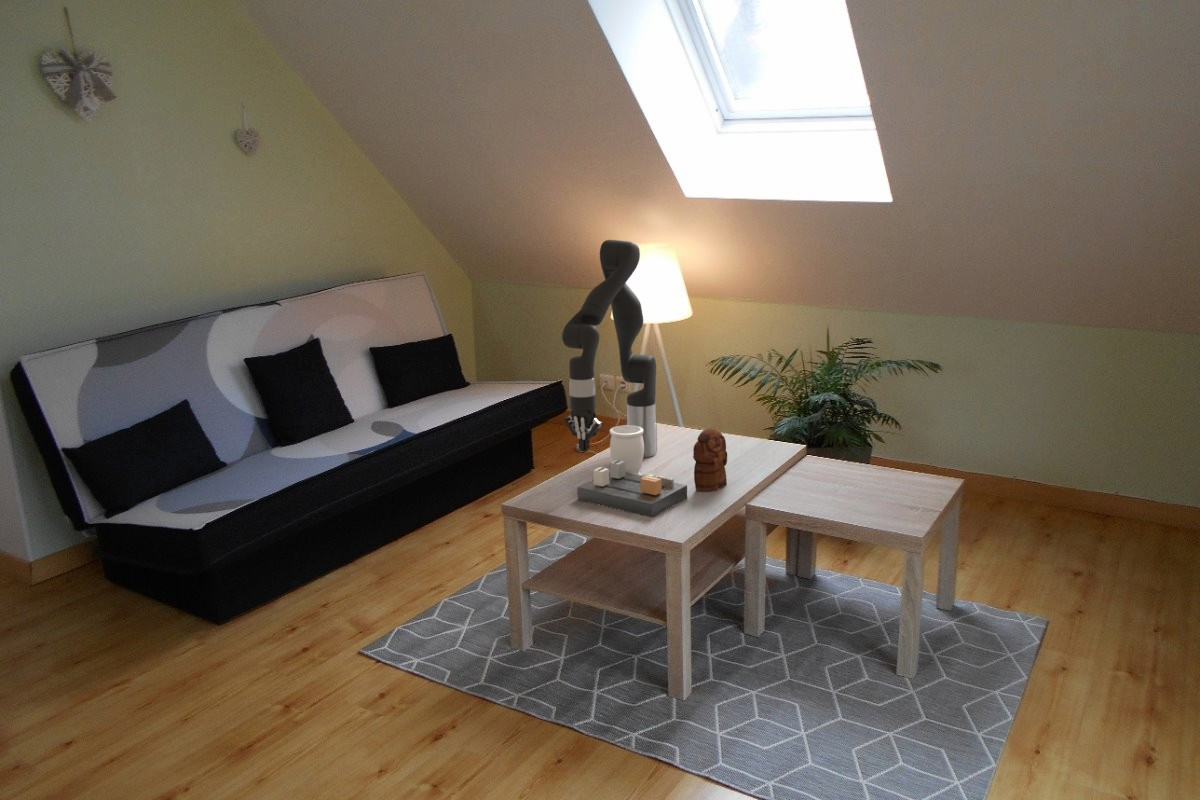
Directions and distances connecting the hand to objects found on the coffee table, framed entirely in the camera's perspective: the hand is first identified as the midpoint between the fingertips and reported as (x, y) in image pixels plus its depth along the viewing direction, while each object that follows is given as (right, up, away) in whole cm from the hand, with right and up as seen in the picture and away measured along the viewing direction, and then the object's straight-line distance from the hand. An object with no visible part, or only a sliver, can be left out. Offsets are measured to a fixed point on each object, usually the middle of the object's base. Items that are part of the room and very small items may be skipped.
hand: (584, 450), depth 292 cm
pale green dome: (+19, -9, 0) cm, 21 cm away
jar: (+13, -9, +18) cm, 24 cm away
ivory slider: (+5, -10, -1) cm, 11 cm away
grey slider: (+10, -8, +5) cm, 14 cm away
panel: (+14, -14, -2) cm, 20 cm away
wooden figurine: (+38, -11, +6) cm, 40 cm away
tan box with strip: (+19, -11, -9) cm, 24 cm away
